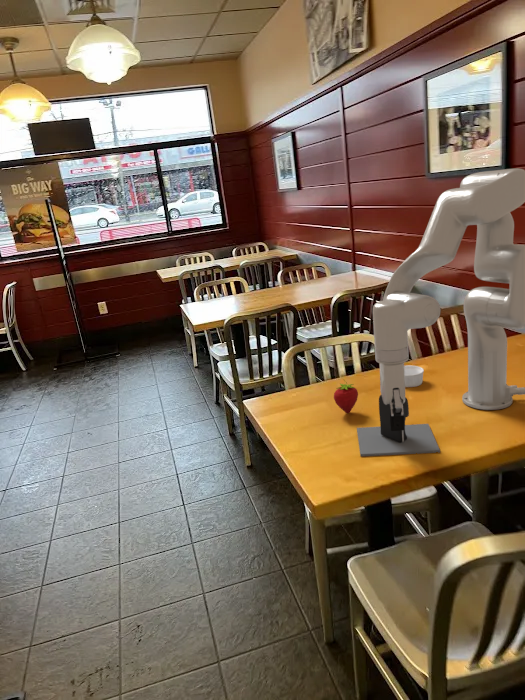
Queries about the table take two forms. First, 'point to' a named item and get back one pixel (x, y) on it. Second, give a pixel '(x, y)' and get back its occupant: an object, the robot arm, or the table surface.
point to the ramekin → (413, 375)
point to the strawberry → (346, 397)
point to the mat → (378, 444)
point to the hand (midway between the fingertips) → (395, 422)
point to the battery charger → (385, 421)
